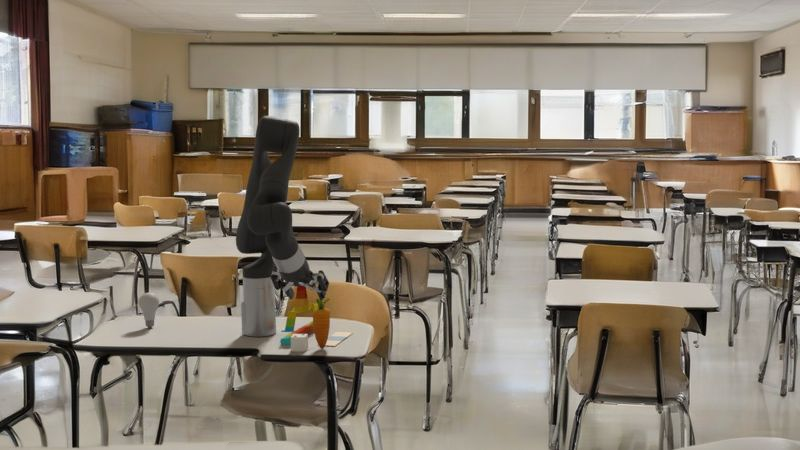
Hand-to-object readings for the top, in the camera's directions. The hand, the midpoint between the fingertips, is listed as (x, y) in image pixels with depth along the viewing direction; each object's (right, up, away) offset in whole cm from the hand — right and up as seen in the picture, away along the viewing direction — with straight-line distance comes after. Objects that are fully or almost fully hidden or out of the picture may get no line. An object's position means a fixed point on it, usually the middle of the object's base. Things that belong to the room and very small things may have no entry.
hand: (307, 296), depth 246 cm
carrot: (+3, -16, +12) cm, 20 cm away
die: (-3, -16, +12) cm, 20 cm away
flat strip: (+6, -14, +23) cm, 27 cm away
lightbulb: (-53, -13, +42) cm, 69 cm away
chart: (-4, -14, +32) cm, 35 cm away
